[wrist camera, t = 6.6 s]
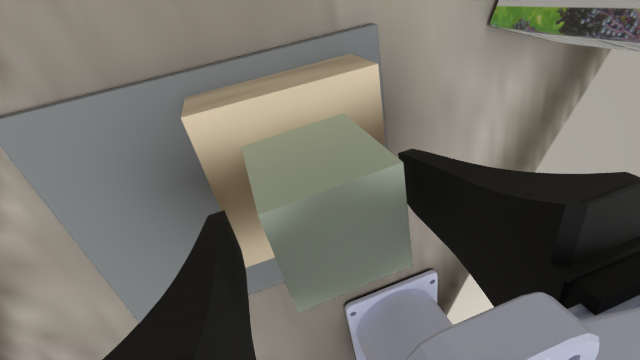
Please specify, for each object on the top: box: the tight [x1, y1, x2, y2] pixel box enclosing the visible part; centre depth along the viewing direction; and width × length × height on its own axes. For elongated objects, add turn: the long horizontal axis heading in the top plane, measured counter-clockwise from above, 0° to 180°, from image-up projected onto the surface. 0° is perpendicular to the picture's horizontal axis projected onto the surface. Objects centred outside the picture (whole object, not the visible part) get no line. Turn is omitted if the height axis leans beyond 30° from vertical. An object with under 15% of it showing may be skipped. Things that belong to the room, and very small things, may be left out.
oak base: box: [181, 54, 385, 268], centre depth 16 cm, size 8×8×3 cm
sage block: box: [241, 113, 413, 313], centre depth 13 cm, size 4×4×5 cm
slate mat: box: [0, 23, 387, 323], centre depth 18 cm, size 14×17×1 cm
